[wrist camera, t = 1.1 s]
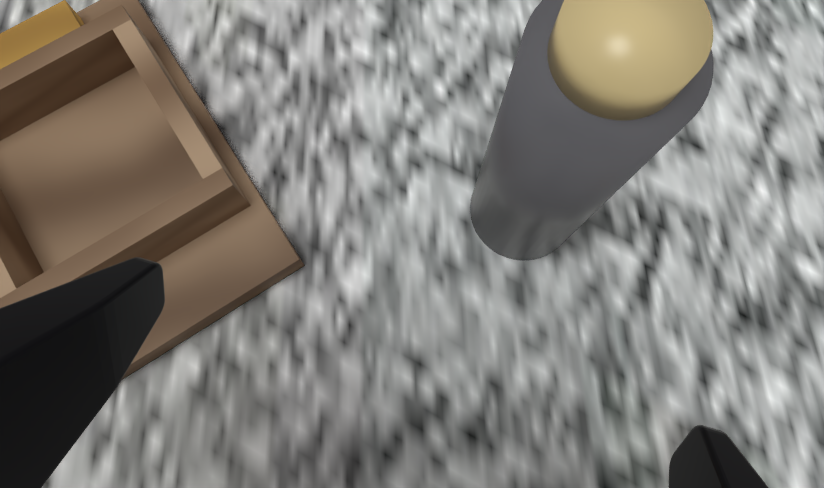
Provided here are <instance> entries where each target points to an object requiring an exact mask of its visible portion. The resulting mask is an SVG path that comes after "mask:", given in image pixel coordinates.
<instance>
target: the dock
mask: <svg viewBox="0 0 824 488" xmlns="http://www.w3.org/2000/svg"><path fill="white" fill-rule="evenodd" d="M135 257H141V258H144V259H148V260H151V261H154V262H157V263H159V264H160V265H161V266H162V269H163V279H164V292H165V303H164V307H163V310H162V312H161V314H160V316H159V318H158V319H157V321H156V323H155V324H154V326H153V328H152V329H151V331H150V333H149V334H148V336H147V338H146V339H145V341H144V343H143V344H142V346H141V348H140V349H139V351H138V353H137V355H136V356H135V358H134V360H133V361H132V363H131V365H130V366H129V368H128V370H127V371H126V373H125V375H124V376H123V378H122V379H124V378H125V377H127V376H129V375H130V374H132V373H133V372H135V371H137V370H138V369H140V368H141V367H143V366H145V365H146V364H148V363H149V362H151V361H153V360H154V359H156V358H157V357H159V356H161V355H162V354H164V353H165V352H167V351H169V350H170V349H172V348H173V347H175V346H177V345H178V344H180V343H181V342H183V341H185V340H186V339H188V338H189V337H191V336H193V335H194V334H196V333H197V332H199V331H201V330H202V329H204V328H205V327H207V326H209V325H210V324H212V323H213V322H215V321H217V320H218V319H220V318H221V317H223V316H225V315H226V314H228V313H229V312H231V311H233V310H234V309H236V308H237V307H239V306H241V305H242V304H244V303H245V302H247V301H249V300H250V299H252V298H253V297H255V296H257V295H258V294H260V293H261V292H263V291H265V290H266V289H268V288H269V287H271V286H273V285H274V284H276V283H277V282H279V281H281V280H282V279H284V278H285V277H287V276H289V275H290V274H292V273H293V272H295V271H297V270H298V269H300V268H301V267H303V266H305V265H304V264H303V262H302V261H301V259H300V257H299V256H298V254H297V253H296V251H295V249H294V248H293V246H292V245H291V243H290V241H289V240H288V238H287V237H286V235H285V233H284V232H283V230H282V229H281V227H280V225H279V224H278V222H277V221H276V219H275V217H274V216H273V214H272V213H271V211H270V209H269V208H268V206H267V205H266V203H265V201H264V200H263V198H262V197H261V195H260V193H259V192H258V190H257V189H256V187H255V185H254V184H253V182H252V181H251V179H250V177H249V176H248V174H247V173H246V171H245V169H244V168H243V166H242V165H241V163H240V161H239V160H238V158H237V157H236V155H235V153H234V152H233V150H232V149H231V147H230V145H229V144H228V142H227V141H226V139H225V137H224V136H223V134H222V133H221V131H220V129H219V128H218V126H217V125H216V123H215V121H214V120H213V118H212V117H211V115H210V113H209V112H208V110H207V109H206V107H205V105H204V104H203V102H202V101H201V99H200V97H199V96H198V94H197V93H196V91H195V89H194V88H193V86H192V85H191V83H190V81H189V80H188V78H187V77H186V75H185V73H184V72H183V70H182V69H181V67H180V65H179V64H178V62H177V61H176V59H175V57H174V56H173V54H172V53H171V51H170V50H169V48H168V46H167V45H166V43H165V42H164V40H163V38H162V37H161V35H160V34H159V32H158V30H157V29H156V27H155V26H154V24H153V22H152V21H151V19H150V18H149V16H148V14H147V13H146V11H145V10H144V8H143V6H142V5H141V3H140V2H139V0H100V1H98V2H96V3H94V4H92V5H90V6H88V7H87V8H85V9H83V10H81V11H79V12H77V13H76V12H75V11H74V10H73V9H72V8H71V6H70V5H69V4H68V3H67V2H66V1H65V0H64V1H62V2H60V3H58V4H56V5H54V6H52V7H50V8H48V9H47V10H45V11H43V12H41V13H39V14H37V15H35V16H33V17H31V18H29V19H27V20H26V21H24V22H22V23H20V24H18V25H16V26H14V27H12V28H10V29H8V30H6V31H5V32H3V33H1V34H0V308H2V307H4V306H7V305H10V304H12V303H15V302H18V301H20V300H23V299H26V298H28V297H31V296H34V295H36V294H39V293H41V292H44V291H47V290H49V289H52V288H55V287H57V286H60V285H63V284H65V283H68V282H70V281H73V280H76V279H78V278H81V277H84V276H86V275H89V274H92V273H94V272H97V271H100V270H102V269H105V268H107V267H110V266H113V265H115V264H118V263H121V262H123V261H126V260H129V259H131V258H135ZM122 379H121V380H122Z"/></svg>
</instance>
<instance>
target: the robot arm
mask: <svg viewBox="0 0 824 488" xmlns="http://www.w3.org/2000/svg"><path fill="white" fill-rule="evenodd" d="M164 303H165V292H164V279H163V269H162V266H161V265H160V264H159V263H157V262H154V261H151V260H148V259H144V258H141V257H135V258H131V259H129V260H126V261H123V262H121V263H118V264H115V265H113V266H110V267H107V268H105V269H102V270H100V271H97V272H94V273H92V274H89V275H86V276H84V277H81V278H78V279H76V280H73V281H70V282H68V283H65V284H63V285H60V286H57V287H55V288H52V289H49V290H47V291H44V292H41V293H39V294H36V295H34V296H31V297H28V298H26V299H23V300H20V301H18V302H15V303H12V304H10V305H7V306H4V307H2V308H0V488H41V487H42V486H43V485H44V483H45V482H46V481H47V479H48V478H49V477H50V475H51V474H52V473H53V471H54V470H55V469H56V467H57V466H58V465H59V463H60V462H61V461H62V459H63V458H64V457H65V455H66V454H67V453H68V451H69V450H70V449H71V448H72V446H73V445H74V444H75V442H76V441H77V440H78V438H79V437H80V436H81V434H82V433H83V432H84V430H85V429H86V428H87V426H88V425H89V424H90V422H91V421H92V420H93V418H94V417H95V416H96V414H97V413H98V412H99V410H100V409H101V408H102V406H103V405H104V404H105V403H106V401H107V400H108V398H109V397H110V396H111V394H112V393H113V392H114V390H115V389H116V387H117V386H118V384H119V383H120V381H121V379H122V378H123V376H124V375H125V373H126V371H127V370H128V368H129V366H130V365H131V363H132V361H133V360H134V358H135V356H136V355H137V353H138V351H139V349H140V348H141V346H142V344H143V343H144V341H145V339H146V338H147V336H148V334H149V333H150V331H151V329H152V328H153V326H154V324H155V323H156V321H157V319H158V318H159V316H160V314H161V312H162V310H163V307H164ZM669 488H768V486H767V485H766V484H765V483H764V481H763V480H762V479H761V477H760V476H759V475H758V474H757V472H756V471H755V470H754V468H753V467H752V466H751V465H750V463H749V462H748V461H747V459H746V458H745V457H744V456H743V454H742V453H741V452H740V450H739V449H738V448H737V447H736V445H735V444H734V443H733V441H732V440H731V439H730V438H729V437H728V435H727V434H725V433H724V432H722V431H720V430H716V429H713V428H710V427H706V426H703V425H698V426H695V427H694V428H693V429H692V430H691V431H690V432H689V434H688V435H687V436H686V438H685V439H684V440H683V442H682V443H681V444H680V446H679V447H678V448H677V450H676V451H675V452H674V454H673V456H672V458H671V461H670V466H669Z"/></svg>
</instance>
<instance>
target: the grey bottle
mask: <svg viewBox="0 0 824 488" xmlns="http://www.w3.org/2000/svg"><path fill="white" fill-rule="evenodd" d="M712 42H713V25H712V19H711V16H710V12H709V10H708V8H707V5H706V3H705V2H704V0H542V1H541V3H540V4H539V5H538V6H537V7H536V9H535V10H534V12H533V13H532V15H531V16H530V18H529V20H528V23H527V25H526V27H525V30H524V33H523V36H522V40H521V43H520V46H519V49H518V52H517V55H516V59H515V62H514V65H513V68H512V71H511V74H510V77H509V81H508V84H507V87H506V90H505V93H504V96H503V100H502V103H501V106H500V109H499V112H498V115H497V119H496V122H495V125H494V128H493V131H492V134H491V137H490V141H489V144H488V147H487V150H486V153H485V156H484V160H483V163H482V166H481V169H480V172H479V175H478V178H477V182H476V185H475V188H474V191H473V194H472V198H471V204H470V214H471V220H472V223H473V226H474V228H475V231H476V233H477V234H478V236H479V237H480V239H481V240H482V241H483V242H484V243H485V244H486V245H487V246H488V247H489V248H490V249H492V250H493V251H494V252H496V253H498V254H500V255H502V256H504V257H507V258H511V259H516V260H532V259H537V258H541V257H543V256H546V255H548V254H549V253H551V252H553V251H554V250H555V249H557V248H558V247H559V246H560V245H561V244H562V243H563V242H564V241H565V240H566V239H567V238H568V237H569V236H570V235H571V234H573V233H574V232H575V231H576V230H577V229H578V228H579V227H580V226H581V225H582V224H583V223H584V222H585V221H586V220H587V219H588V218H589V217H590V216H591V215H592V214H593V213H594V212H595V211H597V210H598V209H599V208H600V207H601V206H602V205H603V204H604V203H605V202H606V201H607V200H608V199H609V198H610V197H611V196H612V195H613V194H614V193H615V192H616V191H617V190H618V189H620V188H621V187H622V186H623V185H624V184H625V183H626V182H627V181H628V180H629V179H630V178H631V177H632V176H633V175H634V174H635V173H636V172H637V171H638V170H639V169H640V168H641V167H643V166H644V165H645V164H646V163H647V162H648V161H649V160H650V159H651V158H652V157H653V156H654V155H655V154H656V153H657V152H658V151H659V150H660V149H661V148H662V147H663V146H664V145H666V144H667V143H668V142H669V141H670V140H671V139H672V138H673V137H674V136H675V135H676V134H677V133H678V132H679V131H680V130H681V129H682V128H683V127H684V126H685V125H686V124H687V123H688V122H689V121H690V120H691V119H692V118H693V117H694V116H695V115H696V114H697V113H698V111H699V110H700V109H701V107H702V106H703V104H704V102H705V100H706V98H707V96H708V93H709V90H710V87H711V84H712V78H713V56H712V50H711V47H712Z"/></svg>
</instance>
